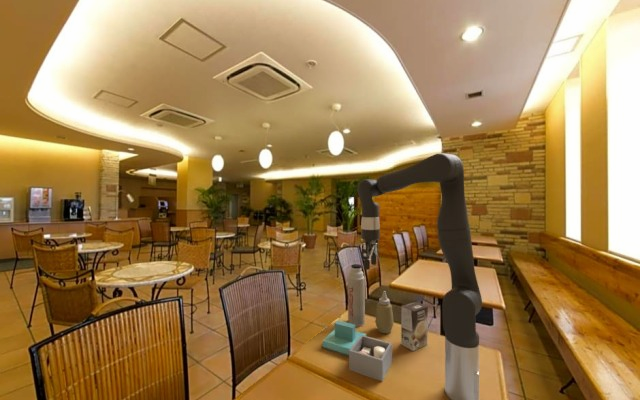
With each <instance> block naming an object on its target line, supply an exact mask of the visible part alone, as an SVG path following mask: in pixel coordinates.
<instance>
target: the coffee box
mask: <svg viewBox="0 0 640 400" xmlns="http://www.w3.org/2000/svg"><path fill="white" fill-rule="evenodd" d="M428 312H429V306H428V305H426V304H423V303H421V302H417V301H413V302H410V303H407V304H402V305H401V312H400V313H401V315H400V316H401V317H400V318H401V320H400V321H401V325H400V327H401V328H400V329H401V330H400V338H401V339H400V345H402V346H404V347H406V349H409V350H410V351H412V352H414V351H417V350H419V349H421V348H423V347H425V346H427V345H428V334H429V333H428V325H429V321H428V320H429V319H428V318H429V315H428Z"/></svg>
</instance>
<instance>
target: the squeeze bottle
mask: <svg viewBox="0 0 640 400" xmlns="http://www.w3.org/2000/svg"><path fill="white" fill-rule="evenodd" d="M374 322H375V325H376V328H377V331H378V333H381V334H385V335H388V334H390V333H391V332H392V330H393V327H394V324H395V323H394V314H393V306H392V304H391V301H390V299H389V298H388V296H387V292H386V290H383V291H382V295H381V297H380V298H379V299H378V303H377V304H376V311H375V321H374Z"/></svg>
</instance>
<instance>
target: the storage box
mask: <svg viewBox="0 0 640 400" xmlns="http://www.w3.org/2000/svg"><path fill="white" fill-rule="evenodd" d="M348 358H349V359H348V361H349V362H348V370H349V371H351V372H353V373H356V374H360V375H362V376H366V377H368V378H371V379H374V380H377V381H381V382H383V381H384V379H385V377H386V375H387V373H388V371H389V369H390V367H391V365H392V362H393V342H389V341H385V340H382V339H378V338H374V337H370V336H363V335H361V336H360V337H359V339H358V340H357V341H356V342H355V344H354V345H353V346H352V348H351V349H350V350H349V357H348Z"/></svg>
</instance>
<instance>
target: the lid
mask: <svg viewBox="0 0 640 400" xmlns="http://www.w3.org/2000/svg"><path fill="white" fill-rule="evenodd" d="M361 335H363V336H367V333H364V332H361V331H358V330H357V331H356V327H355V325H354V324H350V323H348V322H346V321H342V320H336V322H334V329H333V330H332V331H331V332H330V333H329V334H328V335H327V336H326V337H325V338H324V339H323V340H322V346H323V347H325V348H328V349H331V350H334V351H338V352H341V353H344V354H347V355H349V350H350V349H351V348H352V346H353V345H354V344H355V342H356V341H357V340H358V339H359V337H360V336H361ZM367 337H368V336H367Z"/></svg>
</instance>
